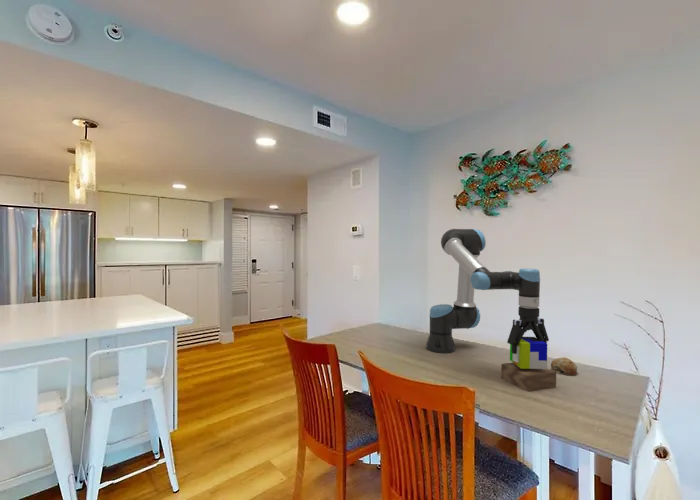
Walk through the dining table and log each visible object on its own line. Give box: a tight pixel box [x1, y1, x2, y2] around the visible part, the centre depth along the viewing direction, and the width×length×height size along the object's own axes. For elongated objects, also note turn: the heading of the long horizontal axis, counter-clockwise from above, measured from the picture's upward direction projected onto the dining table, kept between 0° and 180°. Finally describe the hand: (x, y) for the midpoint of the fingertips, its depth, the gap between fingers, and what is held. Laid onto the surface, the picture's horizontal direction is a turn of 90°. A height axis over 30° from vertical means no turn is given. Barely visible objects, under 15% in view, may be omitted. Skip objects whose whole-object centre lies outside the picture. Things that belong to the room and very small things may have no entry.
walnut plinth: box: [500, 362, 557, 392], centre depth 139 cm, size 14×14×6 cm
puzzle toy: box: [509, 336, 548, 369], centre depth 139 cm, size 10×10×10 cm
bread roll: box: [550, 357, 578, 377], centre depth 152 cm, size 10×10×8 cm
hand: (527, 360), depth 139 cm, fingers closed on puzzle toy, 12 cm apart
